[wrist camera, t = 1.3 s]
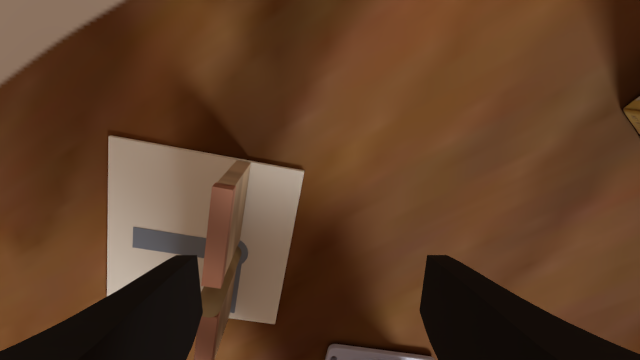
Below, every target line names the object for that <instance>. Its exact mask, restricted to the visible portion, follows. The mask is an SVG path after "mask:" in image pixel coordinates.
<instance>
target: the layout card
mask: <svg viewBox="0 0 640 360" xmlns="http://www.w3.org/2000/svg"><path fill="white" fill-rule="evenodd" d="M237 160H238V161H244V162H250V163H251V166H250V173H249V180H248V187H247V194H246V201H245V208H244V215H243V222H242V230H241V237H240V241H239V244H238V247H239V248H240V249H241V252H242V254H241V257H240V260H239V262H238V265H237V268H236V274H235V281H234V288H233V295H232V302H231V309H230V315H229V318H231V319H239V320H246V321H254V322H261V323H268V324H275V322H276V317H277V311H278V306H279V301H280V296H281V291H282V285H283V280H284V275H285V270H286V265H287V259H288V254H289V249H290V244H291V239H292V233H293V228H294V223H295V218H296V213H297V207H298V202H299V197H300V192H301V187H302V181H303V176H304V170H300V169H294V168H289V167H283V166H278V165H272V164H267V163H261V162H256V161H250V160H245V159H239V158H234V157H228V156H223V155H217V154H212V153H206V152H201V151H195V150H190V149H184V148H179V147H173V146H168V145H162V144H157V143H151V142H146V141H140V140H135V139H129V138H124V137H118V136H113V135H111V136H108V238H107V296H109V295H111V294H112V293H114V292H116V291H118V290H119V289H121V288H122V287H124V286H126V285H127V284H129V283H130V282H132V281H134V280H135V279H137V278H139V277H140V276H142V275H143V274H145V273H147V272H148V271H150V270H151V269H153V268H155V267H156V266H158V265H160V264H161V263H163V262H165V261H166V260H168V259H170V258H172V257H174V256H176V255H197V259H198V269H199V278H200V288H201V291H202V289H203V287H204V286H201V283H202V274H203V265H204V256H205V246H206V237H207V228H208V218H209V209H210V200H211V191H212V186H213V185H214V184H215V183H216V182H218V181H219V180H220V178H221V177H222V176H223V175H224V174H225V173H226V172H227V171H228V170H229V168H230V167H231V166H232V165H233V164H234V163H235V162H236V161H237Z"/></svg>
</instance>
